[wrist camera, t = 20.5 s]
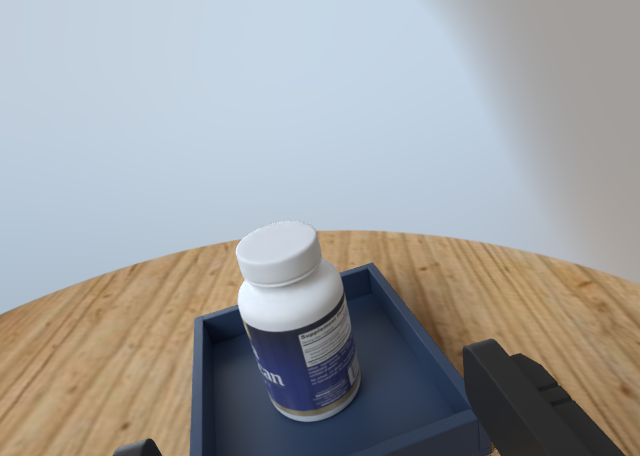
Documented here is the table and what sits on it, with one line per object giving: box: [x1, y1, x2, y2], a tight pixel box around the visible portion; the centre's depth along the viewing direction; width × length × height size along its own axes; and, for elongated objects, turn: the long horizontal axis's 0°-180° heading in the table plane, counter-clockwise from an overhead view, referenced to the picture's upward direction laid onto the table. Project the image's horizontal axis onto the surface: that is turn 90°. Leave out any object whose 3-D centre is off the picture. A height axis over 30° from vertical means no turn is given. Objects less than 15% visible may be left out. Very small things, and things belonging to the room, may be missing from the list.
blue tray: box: [190, 263, 491, 456], centre depth 24 cm, size 13×14×3 cm
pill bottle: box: [236, 221, 361, 422], centre depth 22 cm, size 5×5×10 cm
